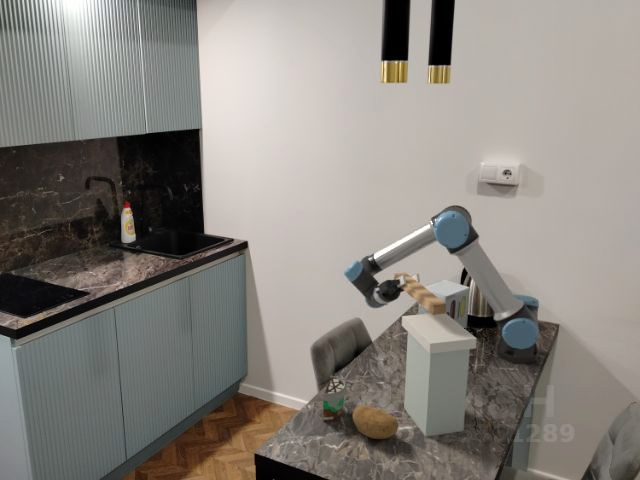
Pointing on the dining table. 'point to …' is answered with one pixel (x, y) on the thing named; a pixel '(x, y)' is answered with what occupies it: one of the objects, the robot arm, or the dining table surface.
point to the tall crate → (436, 372)
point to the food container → (333, 399)
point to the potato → (374, 422)
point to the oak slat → (422, 295)
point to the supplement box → (451, 300)
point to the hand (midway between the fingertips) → (411, 278)
